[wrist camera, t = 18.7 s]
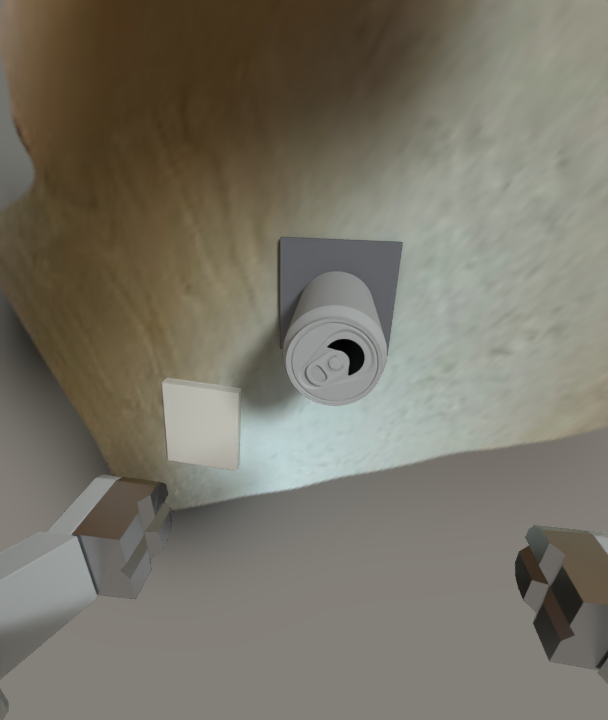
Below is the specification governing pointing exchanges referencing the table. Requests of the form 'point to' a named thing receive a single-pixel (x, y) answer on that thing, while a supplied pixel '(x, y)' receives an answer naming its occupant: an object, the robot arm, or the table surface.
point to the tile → (202, 423)
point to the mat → (355, 257)
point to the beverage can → (335, 341)
